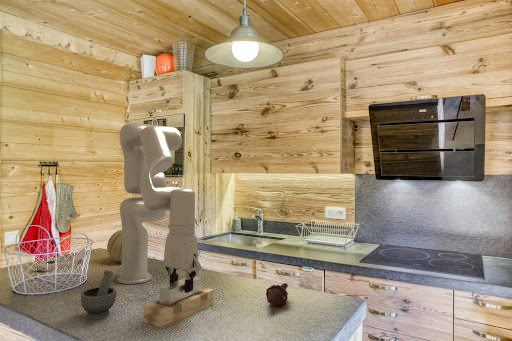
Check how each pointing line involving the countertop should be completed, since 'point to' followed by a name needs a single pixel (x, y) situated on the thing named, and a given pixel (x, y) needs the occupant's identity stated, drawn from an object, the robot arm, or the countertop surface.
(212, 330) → the countertop surface
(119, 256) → the cantaloupe
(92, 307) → the mortar and pestle
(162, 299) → the grey boxy piece
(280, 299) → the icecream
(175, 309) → the brown wooden rectangular block
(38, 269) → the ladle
